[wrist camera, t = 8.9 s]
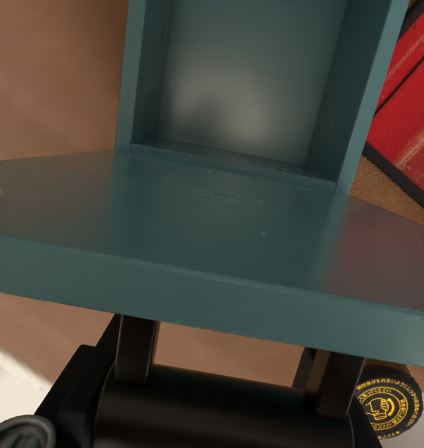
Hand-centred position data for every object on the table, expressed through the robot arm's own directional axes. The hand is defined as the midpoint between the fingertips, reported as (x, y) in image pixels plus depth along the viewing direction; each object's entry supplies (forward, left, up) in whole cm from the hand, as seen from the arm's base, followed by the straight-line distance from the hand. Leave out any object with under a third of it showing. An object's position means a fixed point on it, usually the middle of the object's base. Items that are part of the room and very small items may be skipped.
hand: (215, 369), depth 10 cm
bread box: (-11, 0, -20) cm, 23 cm away
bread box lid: (-5, 0, -3) cm, 6 cm away
